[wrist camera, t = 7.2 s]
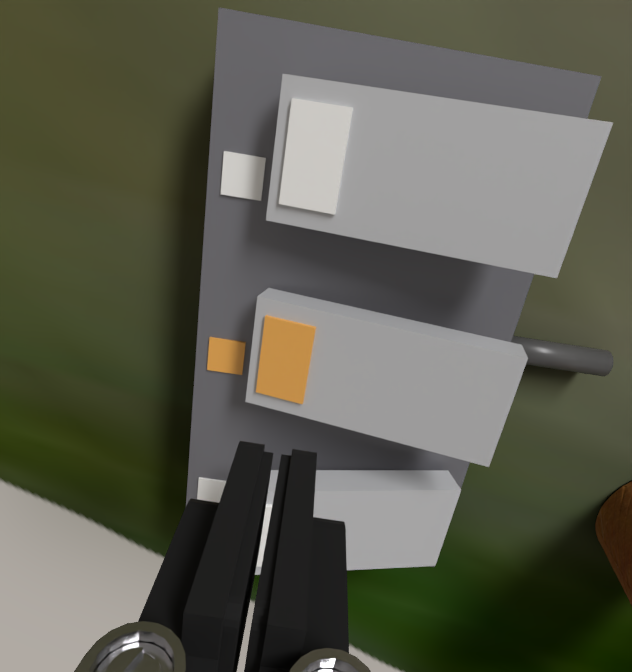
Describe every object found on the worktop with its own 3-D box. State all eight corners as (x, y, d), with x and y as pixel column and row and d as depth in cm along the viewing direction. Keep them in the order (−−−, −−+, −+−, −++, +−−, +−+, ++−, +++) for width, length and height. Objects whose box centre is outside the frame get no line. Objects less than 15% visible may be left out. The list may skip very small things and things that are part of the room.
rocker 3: (448, 470, 20) (462, 492, 19) (424, 543, 22) (436, 568, 21) (235, 470, 18) (236, 494, 17) (226, 551, 20) (226, 579, 18)
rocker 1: (597, 126, 13) (615, 122, 12) (547, 269, 15) (558, 279, 14) (293, 79, 15) (281, 72, 13) (276, 216, 16) (264, 220, 15)
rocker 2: (521, 344, 16) (529, 359, 15) (485, 447, 17) (489, 469, 16) (268, 287, 17) (255, 297, 16) (256, 388, 19) (243, 403, 18)
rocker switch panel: (692, 115, 19) (785, 109, 15) (522, 521, 27) (555, 584, 23) (240, 35, 18) (217, 6, 14) (204, 477, 26) (183, 535, 22)
